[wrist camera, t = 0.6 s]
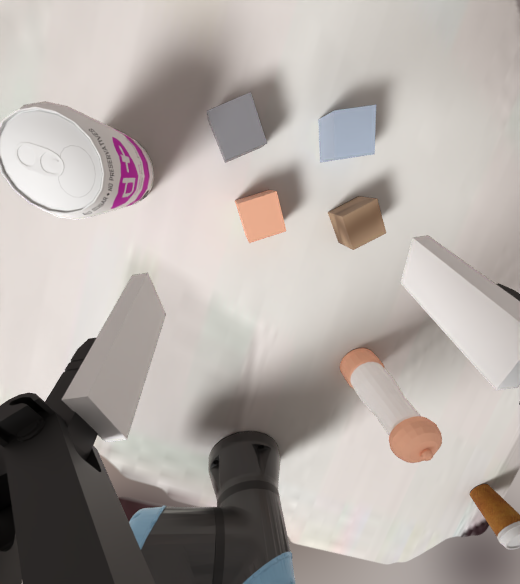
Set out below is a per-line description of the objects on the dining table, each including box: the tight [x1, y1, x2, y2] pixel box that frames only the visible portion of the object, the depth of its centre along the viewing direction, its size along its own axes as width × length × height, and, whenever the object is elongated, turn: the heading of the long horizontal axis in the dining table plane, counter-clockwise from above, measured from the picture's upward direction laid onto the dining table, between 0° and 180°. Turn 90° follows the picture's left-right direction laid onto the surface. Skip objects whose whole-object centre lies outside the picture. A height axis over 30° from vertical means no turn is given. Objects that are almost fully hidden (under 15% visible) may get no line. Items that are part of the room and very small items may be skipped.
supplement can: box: [0, 101, 154, 220], centre depth 26 cm, size 8×8×15 cm
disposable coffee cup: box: [470, 484, 520, 550], centre depth 73 cm, size 10×10×12 cm
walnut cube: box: [328, 196, 386, 250], centre depth 37 cm, size 5×5×5 cm
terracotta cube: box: [235, 190, 286, 243], centre depth 35 cm, size 5×5×5 cm
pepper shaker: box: [340, 348, 442, 463], centre depth 43 cm, size 7×7×19 cm
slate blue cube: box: [319, 105, 376, 162], centre depth 33 cm, size 5×5×5 cm
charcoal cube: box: [207, 92, 267, 163], centre depth 31 cm, size 5×5×5 cm
